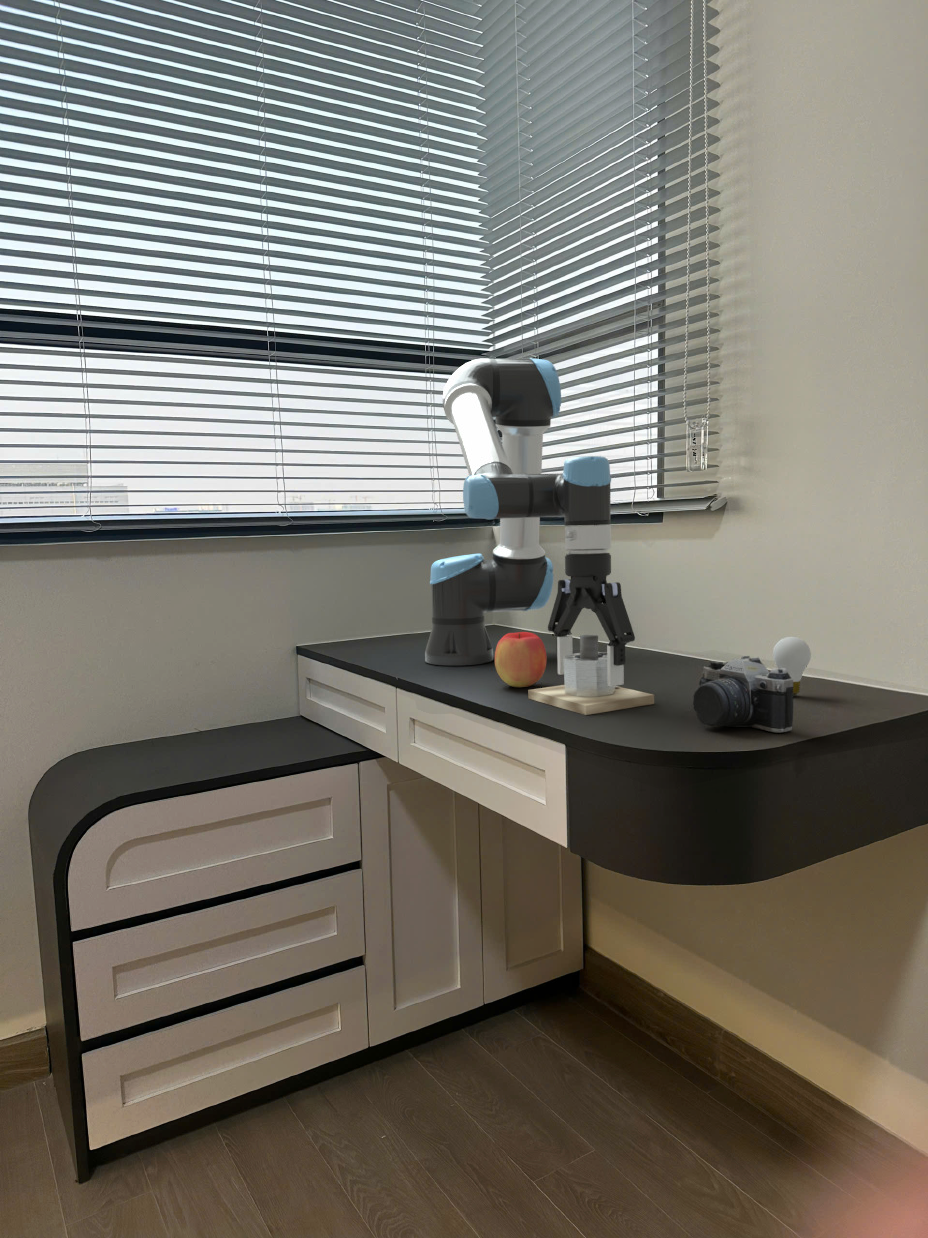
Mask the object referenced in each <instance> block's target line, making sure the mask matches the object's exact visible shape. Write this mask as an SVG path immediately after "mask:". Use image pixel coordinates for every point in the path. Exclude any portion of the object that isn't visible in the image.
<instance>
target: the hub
mask: <svg viewBox="0 0 928 1238" xmlns="http://www.w3.org/2000/svg"><path fill="white" fill-rule="evenodd" d="M563 659H564V674H563V676H564V677H563V679H564V680H563V681H564V685H565V694H568V695H572V696H576V697H599V696H605V695H610V694H613V693H614V691H615V686H608V680H607V651H598V658H594V659H580V652H575V653H573V654H569V655H566V656H565V657H564V658H563Z"/></svg>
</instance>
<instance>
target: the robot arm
mask: <svg viewBox="0 0 928 1238" xmlns="http://www.w3.org/2000/svg"><path fill="white" fill-rule="evenodd" d="M561 389H562V388H561V383H560V379H559V373H558V372H557V369H556V366H555V365H554V364H553V363H552V362H551V361H549V360H547V359H543V358H542V359H541V358H540V359H539V358H532V357H528V358H527V357H526V358H487V357H485V358H484V357H482V358H477V359H472V360H471V361H468V362H465V363H464V364H463V365H461V366H459V368H457V369H456V370H455V371H454V372H453V373H452V375H451V376H450V377H449V379H448V380H447V382H446V384H445V386H444V388H443V393H442V406H443V410H444V415H445V417H446V418H447V420H448V421H449V423H451V424H452V425H453V427H454V430H455V433H456V437H457V440H458V442H459V446H460V449H461V452H462V456H463V460H464V462H465V466H466V468H467V471H468V472H467V473H468V476H466V477H465V479H464V482H463V489H462V500H463V501H462V502H463V508H464V512H465V514H466V516H467V517H469V519H483V520H484V519H485V520H489V521H490V520H499V519H500V520H499V521H500V524H499V526H500V527H499V544H497V546H496V547H495V548H494V549H493V550H492V559H485V557H484V556H483V554H482V553H472V554H464V555H458V556H452V557H451V556H450V557H447V558H441V559H439V560H435V561H434V562H433V563H432V564H431V567H430V579H429V580H430V581H429V585H430V594H431V595H430V596H431V597H430V598H431V601H430V602H431V629H430V630H431V631H430V634H429V638H428V640H427V644H426V647H425V652H424V657H425V658H424V660H425V663H427V664H430V665H435V666H436V665H437V666H471V665H481V664H486V663H489V662H492V661H493V660H494V650H493V646H492V642H491V640H490V637H489V634H488V632H487V628H486V626H485V613H498V612H528V611H531V610H532V611H533V610H534V611H535V610H540V609H543V608H544V607H545V606H546V605H547V604H548V602H549V601H550V598H551V595H552V591H553V585H554V566H553V562H552V561H551V559H550V558H548V557H546V550H545V549H544V548H542V546H541V545H540V525H541V524H540V522H541V519H540V518H564V546H565V547H564V549H565V550H566V551H568V553H566V554H565V555H564V568H565V569H564V572H565V575H566V576H567V577H570V579H568V578H567V579H558V581H557V594H556V597H555V600H554V604H553V607H552V610H551V613H550V614H551V615H550V618H549V622H548V625H547V631H548V632H552V633H553V635H554V636H555V638H556V640H555V643H556V645H555V646H556V648H555V649H556V654H557V655H556V657H557V659H556V660H557V674H558V675H561V676H562V675H564V659H563V658H564V657H565V656H566V655H569V654H574V653H573V649H574V648H573V635H572V634H573V633H572V631H571V630H572V628H573V626H574V625H575V623H576V621H577V619H578V617H579V616H580V614H581V612H582V610H583V609H586V610H591V612H593V613H595V615H596V617H597V620H598V621H599V623H600V625H601V627H602V628H603V629H602V630H603V631H604V633H605V635H606V637H607V638H608V641H609V643H607V645H606V652H607V680H608V686H621V685H624V684H625V682H624V681H625V680H624V679H625V676H624V674H625V673H624V672H625V670H624V669H625V668H624V667H625V664H626V646H627V644H628V643H631V642H634V641H635V640H636V636H635V634H634V630H633V627H632V624H631V621H630V618H629V614H628V612H627V608H626V605H625V602H624V599H623V595H622V586H621V583H620V581H619V582H617V581H615V582H608V581H607V577H608V576H610V575H611V574H612V555H611V553H610V552H608V550H611V548H612V529H611V528H612V525H611V483H612V476H611V467H610V461H609V460H608V458H606V457H605V456H601V455H600V456H599V455H597V456H596V455H595V456H593V455H592V456H591V455H590V456H573V457H569V458H567V459H565V460H564V462H563V472H561V473H542V469H543V468H542V465H543V464H542V463H543V442H544V433H545V432H546V431H547V430H548V429H549V428H550V427H551V421H552V418H555V417H557V416H558V415H559V413H560V411H561V406H562V392H561V391H562V390H561ZM494 418H495V420H494ZM498 430H499V431H500V432H501V435H502V438H501V437H500V434H499V432H498Z"/></svg>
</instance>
